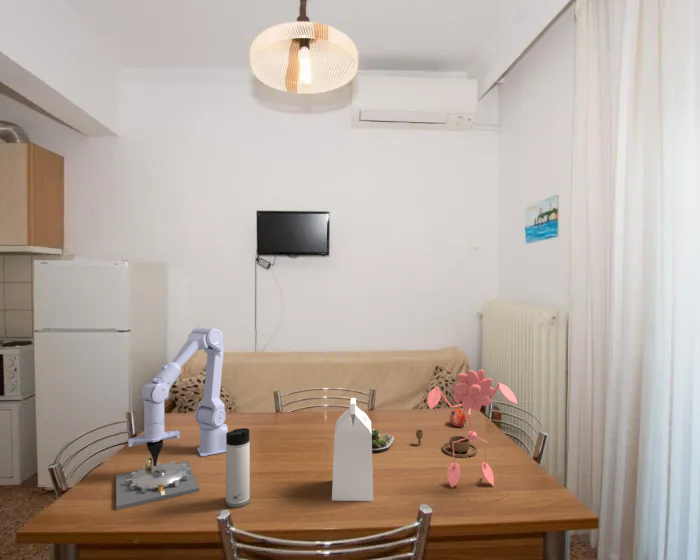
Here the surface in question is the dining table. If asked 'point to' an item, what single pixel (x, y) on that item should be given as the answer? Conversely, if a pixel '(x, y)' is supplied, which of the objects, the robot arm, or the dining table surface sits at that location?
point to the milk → (352, 457)
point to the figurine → (472, 394)
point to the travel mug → (237, 468)
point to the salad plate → (380, 441)
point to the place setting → (458, 446)
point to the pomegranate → (457, 417)
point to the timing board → (137, 497)
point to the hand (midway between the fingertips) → (154, 464)
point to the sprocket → (158, 476)
